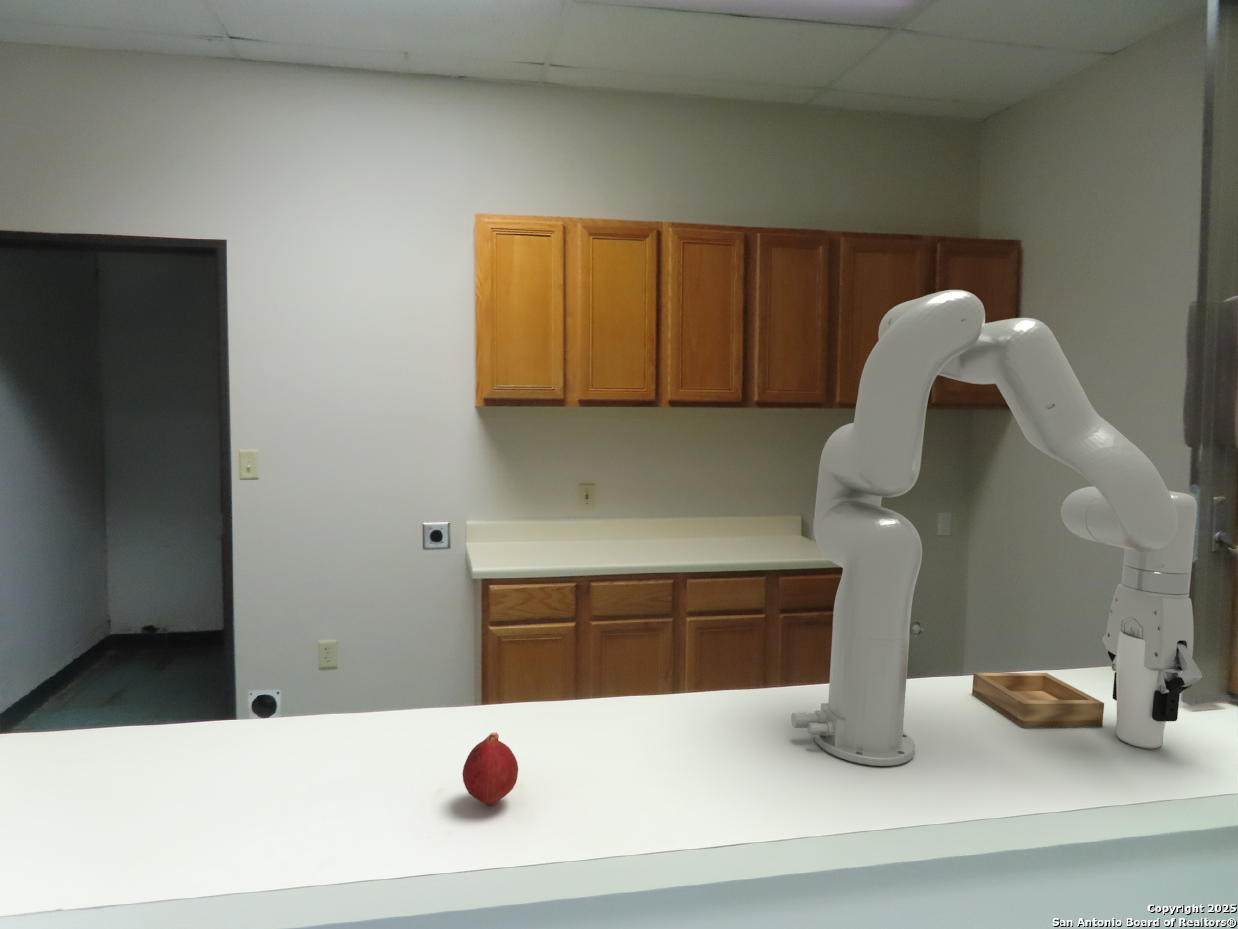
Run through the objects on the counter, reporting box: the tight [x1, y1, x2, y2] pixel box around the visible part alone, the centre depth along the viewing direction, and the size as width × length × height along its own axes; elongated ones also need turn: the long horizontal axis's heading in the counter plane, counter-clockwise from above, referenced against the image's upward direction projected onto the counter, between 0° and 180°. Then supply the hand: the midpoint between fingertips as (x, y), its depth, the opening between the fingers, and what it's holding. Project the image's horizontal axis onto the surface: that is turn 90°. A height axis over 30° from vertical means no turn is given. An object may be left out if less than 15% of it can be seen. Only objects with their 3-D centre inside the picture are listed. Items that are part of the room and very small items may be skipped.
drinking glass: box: [1115, 631, 1175, 750], centre depth 103 cm, size 7×7×15 cm
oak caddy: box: [971, 672, 1105, 729], centre depth 113 cm, size 12×12×4 cm
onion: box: [462, 731, 519, 806], centre depth 81 cm, size 6×6×8 cm
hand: (1143, 708), depth 103 cm, fingers closed on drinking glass, 6 cm apart
